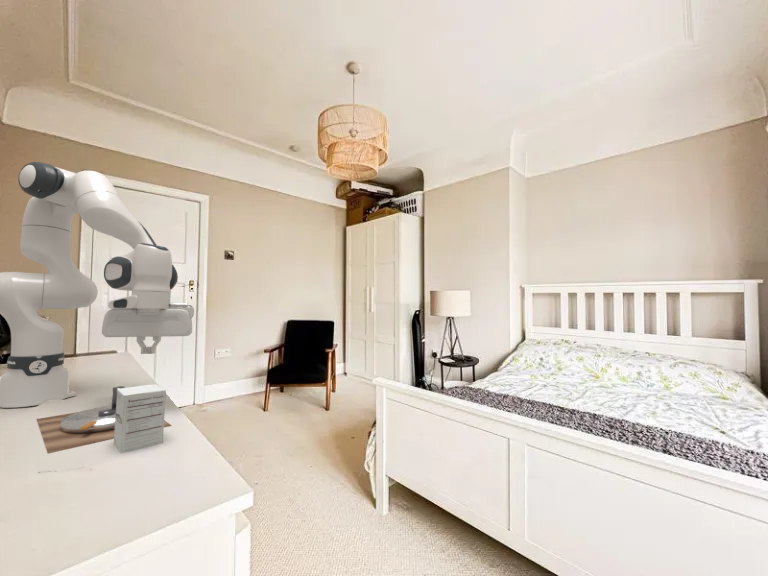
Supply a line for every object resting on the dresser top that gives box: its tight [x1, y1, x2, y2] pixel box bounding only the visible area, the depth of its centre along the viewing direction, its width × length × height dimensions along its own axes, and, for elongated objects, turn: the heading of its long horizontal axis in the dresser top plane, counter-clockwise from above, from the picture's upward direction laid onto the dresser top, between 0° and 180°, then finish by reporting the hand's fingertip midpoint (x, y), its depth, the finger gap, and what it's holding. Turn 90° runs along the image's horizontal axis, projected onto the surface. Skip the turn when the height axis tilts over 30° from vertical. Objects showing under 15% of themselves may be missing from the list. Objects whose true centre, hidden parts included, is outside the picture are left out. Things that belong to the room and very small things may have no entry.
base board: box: [36, 411, 173, 454], centre depth 81 cm, size 28×21×2 cm
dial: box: [60, 385, 126, 433], centre depth 80 cm, size 18×16×6 cm
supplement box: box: [113, 383, 167, 454], centre depth 70 cm, size 7×7×13 cm
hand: (148, 353), depth 90 cm, fingers closed
